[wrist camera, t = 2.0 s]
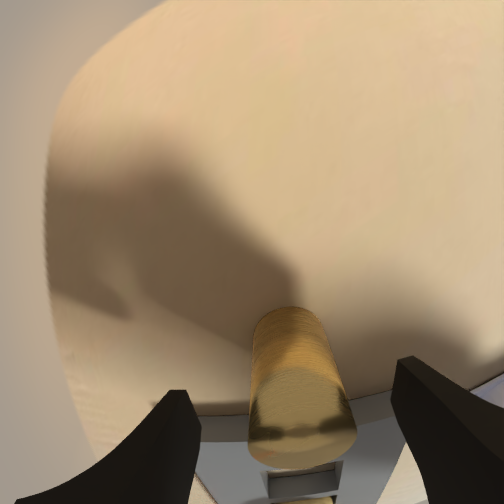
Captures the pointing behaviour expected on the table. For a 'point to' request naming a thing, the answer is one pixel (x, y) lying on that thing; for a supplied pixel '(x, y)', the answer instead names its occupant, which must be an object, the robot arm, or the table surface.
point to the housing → (311, 485)
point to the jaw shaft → (296, 394)
